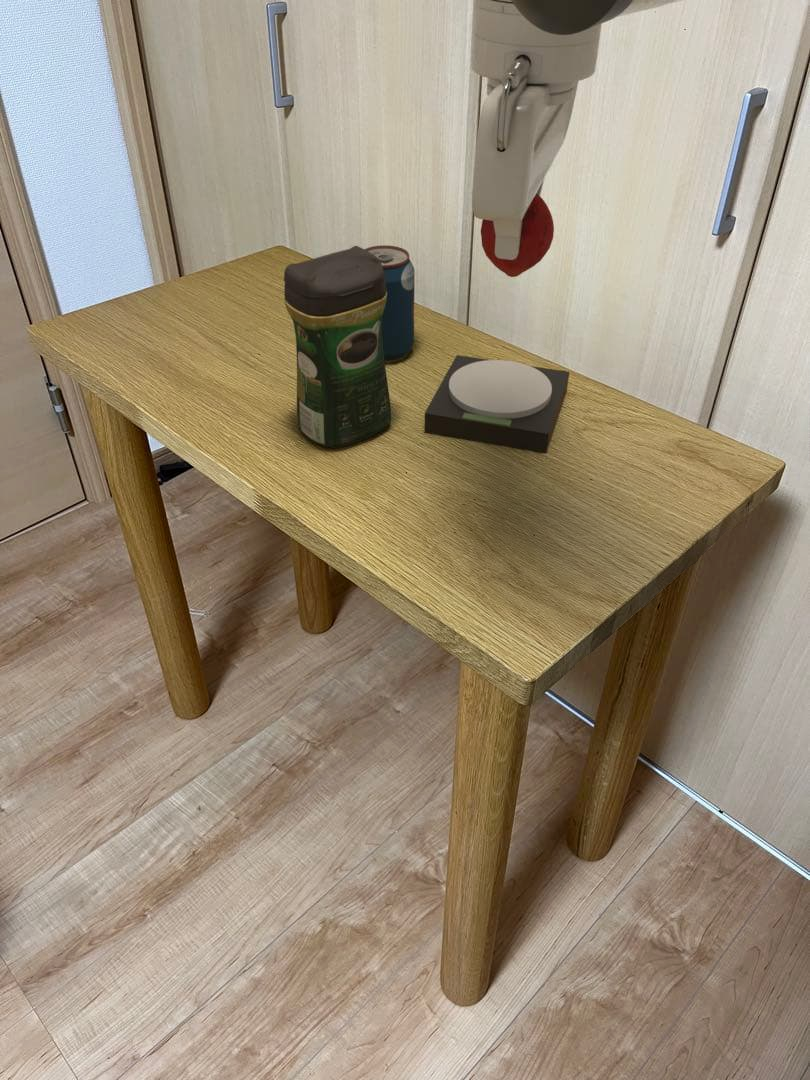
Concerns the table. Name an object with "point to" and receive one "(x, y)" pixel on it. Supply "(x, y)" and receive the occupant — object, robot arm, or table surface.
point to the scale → (498, 403)
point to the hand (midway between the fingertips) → (516, 238)
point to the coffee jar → (339, 346)
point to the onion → (523, 239)
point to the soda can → (397, 301)
